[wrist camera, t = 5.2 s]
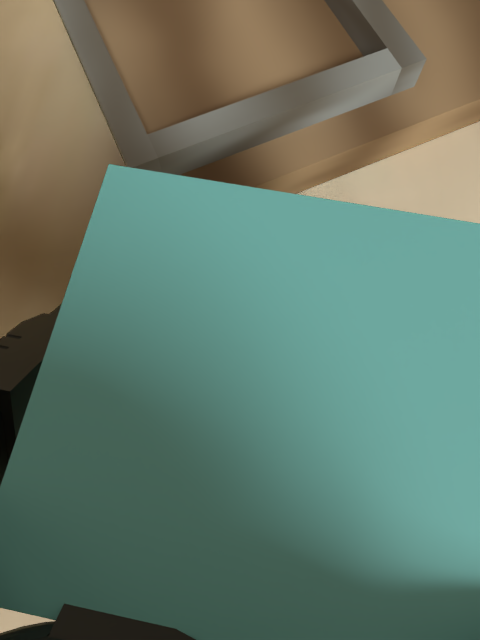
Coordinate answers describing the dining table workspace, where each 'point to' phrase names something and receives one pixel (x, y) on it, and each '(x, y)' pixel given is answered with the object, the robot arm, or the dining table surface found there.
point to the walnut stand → (276, 82)
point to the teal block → (255, 420)
